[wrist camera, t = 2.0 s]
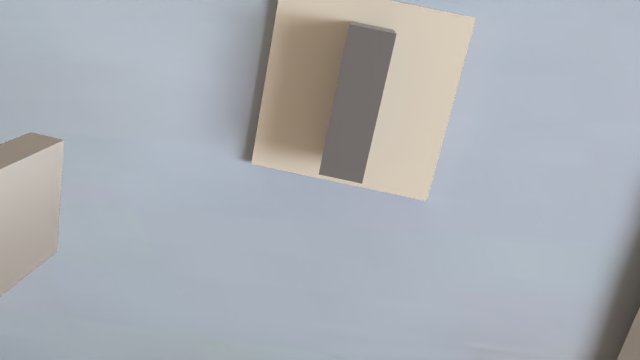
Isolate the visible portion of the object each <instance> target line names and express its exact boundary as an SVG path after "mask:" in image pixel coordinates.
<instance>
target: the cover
mask: <svg viewBox="0 0 640 360" xmlns="http://www.w3.org/2000/svg"><path fill="white" fill-rule="evenodd" d="M475 21H476V18H473V17H468V16H463V15H459V14H454V13H449V12H444V11H439V10H434V9H429V8H425V7H420V6H415V5H410V4H405V3H400V2H395V1H391V0H278V5H277V11H276V17H275V23H274V29H273V35H272V41H271V47H270V53H269V59H268V65H267V71H266V78H265V84H264V90H263V96H262V102H261V108H260V114H259V120H258V126H257V132H256V138H255V144H254V150H253V156H252V162H251V164H254V165H259V166H264V167H269V168H273V169H278V170H283V171H287V172H292V173H297V174H301V175H306V176H311V177H315V178H320V179H325V180H329V181H334V182H339V183H344V184H348V185H353V186H358V187H362V188H367V189H372V190H376V191H381V192H386V193H390V194H395V195H400V196H404V197H409V198H414V199H419V200H423V201H427V198H428V194H429V191H430V187H431V183H432V180H433V176H434V172H435V169H436V165H437V161H438V157H439V154H440V150H441V146H442V143H443V139H444V135H445V132H446V128H447V124H448V121H449V117H450V113H451V109H452V106H453V102H454V98H455V95H456V91H457V87H458V84H459V80H460V76H461V73H462V69H463V65H464V61H465V58H466V54H467V50H468V47H469V43H470V39H471V36H472V32H473V28H474V25H475Z"/></svg>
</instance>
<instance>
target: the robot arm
mask: <svg viewBox="0 0 640 360" xmlns="http://www.w3.org/2000/svg"><path fill="white" fill-rule="evenodd" d="M63 153H64V140H62V139H57V138H53V137H48V136H44V135H40V134H35V133H28V134H26V135H23V136H21V137H18V138H15V139H13V140H10V141H8V142H5V143H3V144H0V297H1V296H2V295H3V294H5V293H6V292H7V291H8V290H10V289H11V288H12V287H13V286H15V285H16V284H17V283H18V282H20V281H21V280H22V279H23V278H25V277H26V276H27V275H28V274H30V273H31V272H32V271H33V270H35V269H36V268H37V267H38V266H40V265H41V264H42V263H43V262H45V261H46V260H47V259H48V258H50V257H51V256H52V255H54V254H55V253H56V252H57V243H58V228H59V213H60V198H61V183H62V168H63ZM617 360H640V307H639V310H638V312H637V314H636V317H635V319H634V321H633V324H632V326H631V328H630V331H629V333H628V335H627V338H626V340H625V342H624V344H623V347H622V349H621V351H620V354H619V356H618V358H617Z"/></svg>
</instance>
